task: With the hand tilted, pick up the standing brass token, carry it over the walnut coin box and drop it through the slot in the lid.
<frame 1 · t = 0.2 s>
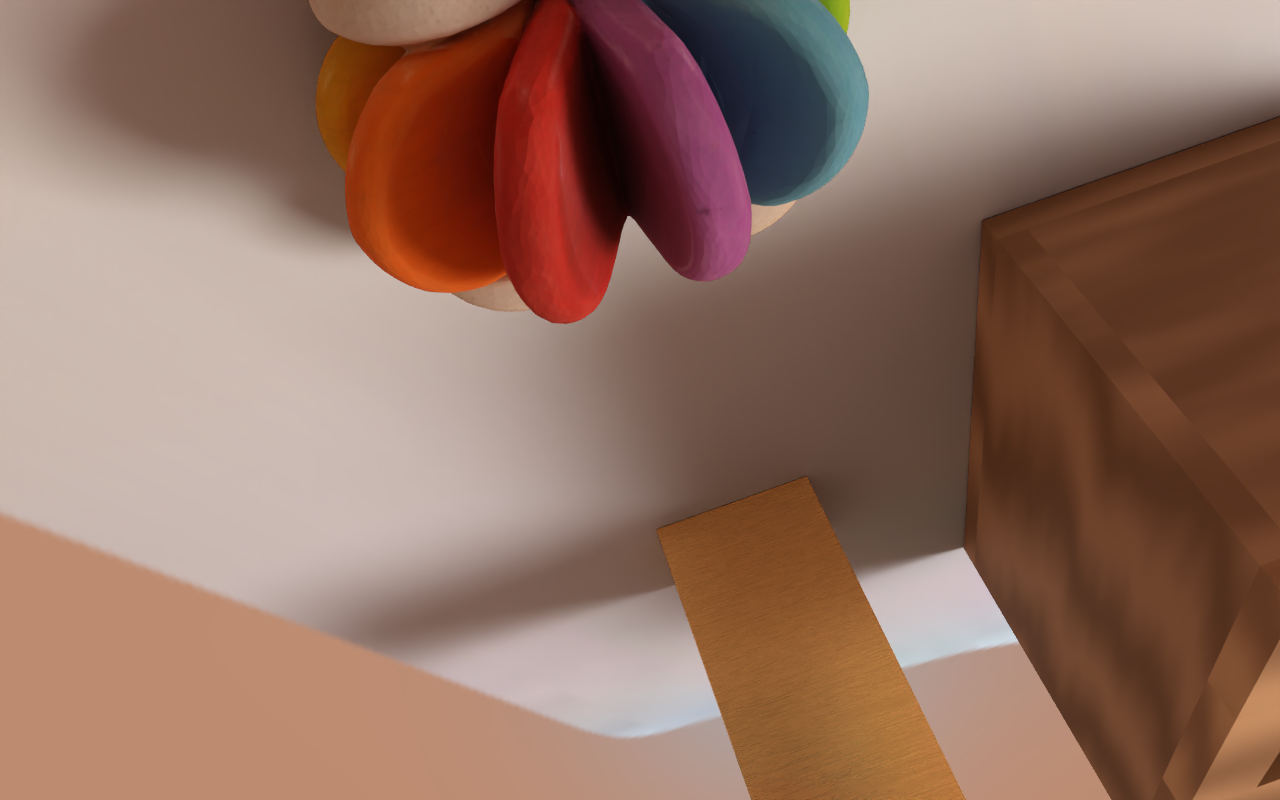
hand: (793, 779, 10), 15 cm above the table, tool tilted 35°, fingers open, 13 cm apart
coin box: (1149, 350, 34), on the table
token: (738, 532, 35), on the table
multicolored rounded segment toy: (559, 10, 21), on the table
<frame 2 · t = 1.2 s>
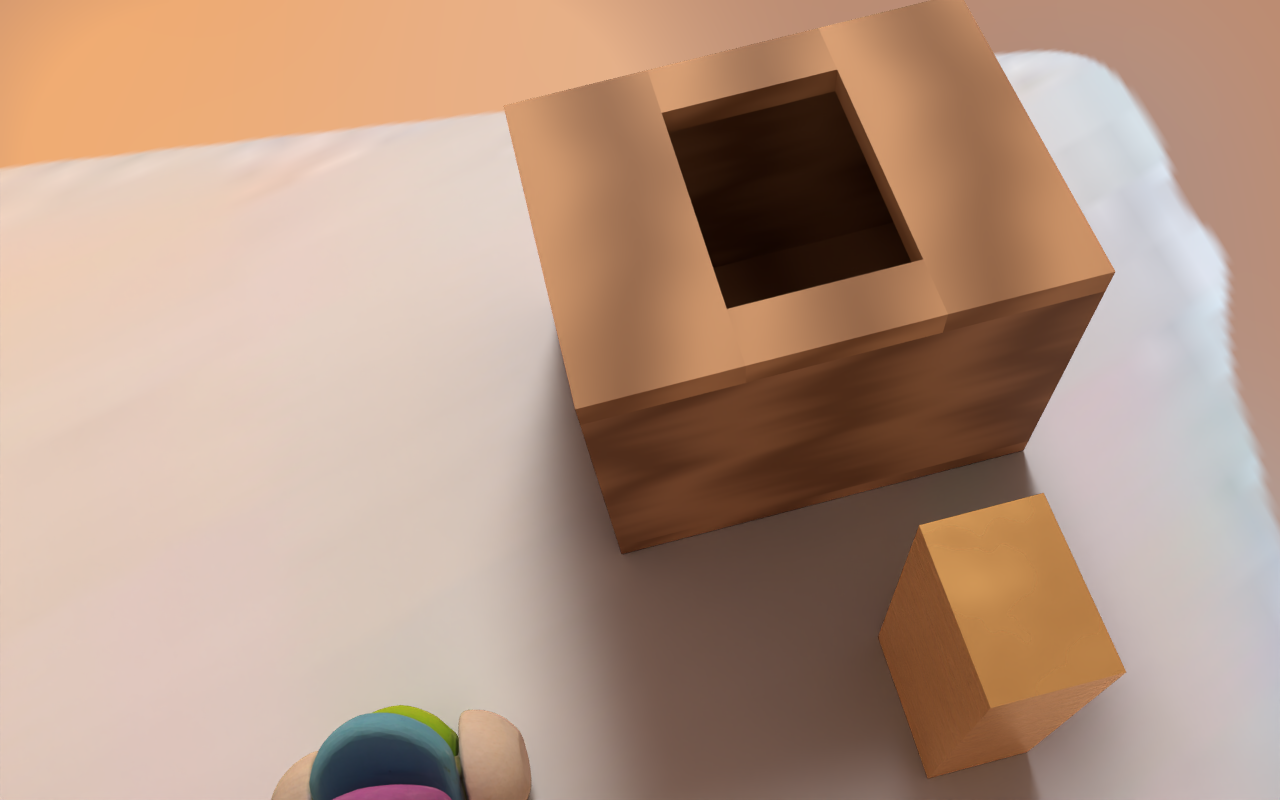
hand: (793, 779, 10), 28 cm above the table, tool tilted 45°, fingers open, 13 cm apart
coin box: (778, 371, 44), on the table
token: (950, 692, 37), on the table
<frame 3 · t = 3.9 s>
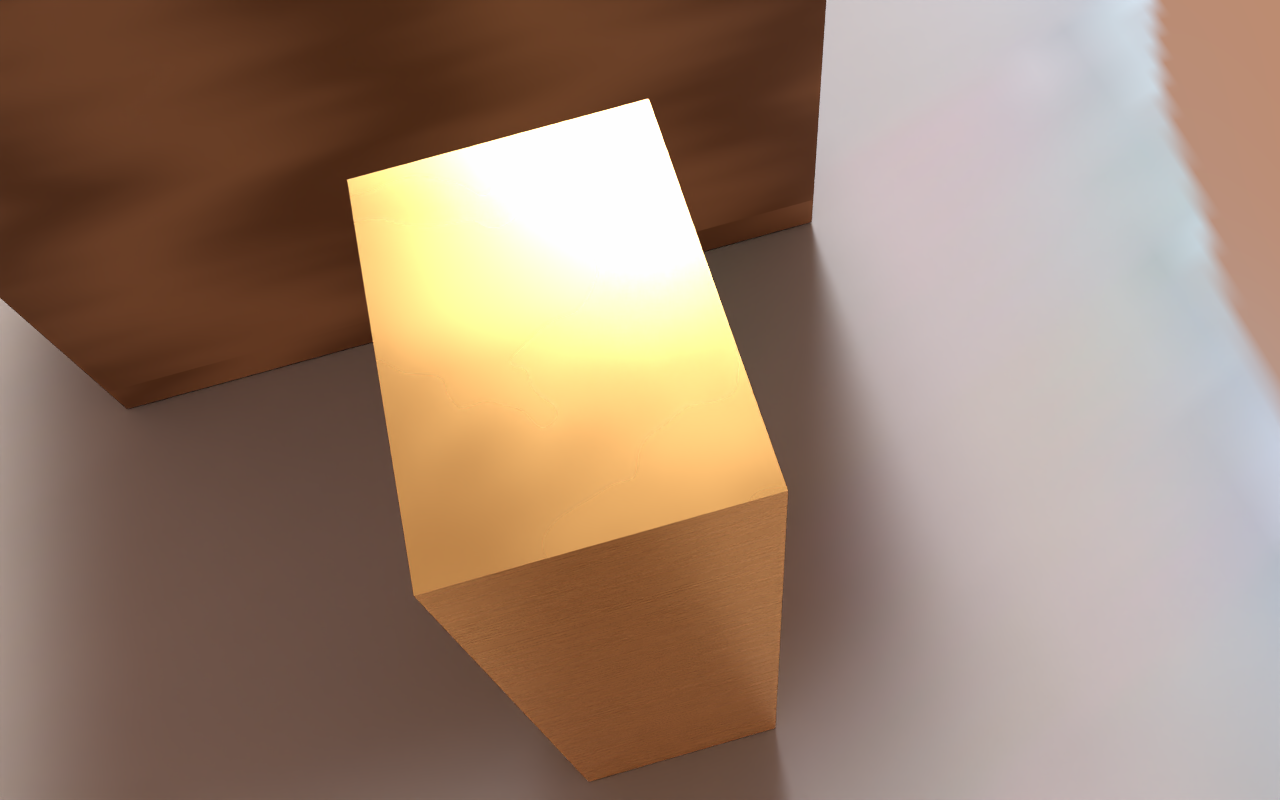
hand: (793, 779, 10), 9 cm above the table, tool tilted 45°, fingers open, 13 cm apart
coin box: (431, 123, 27), on the table
token: (647, 624, 21), on the table
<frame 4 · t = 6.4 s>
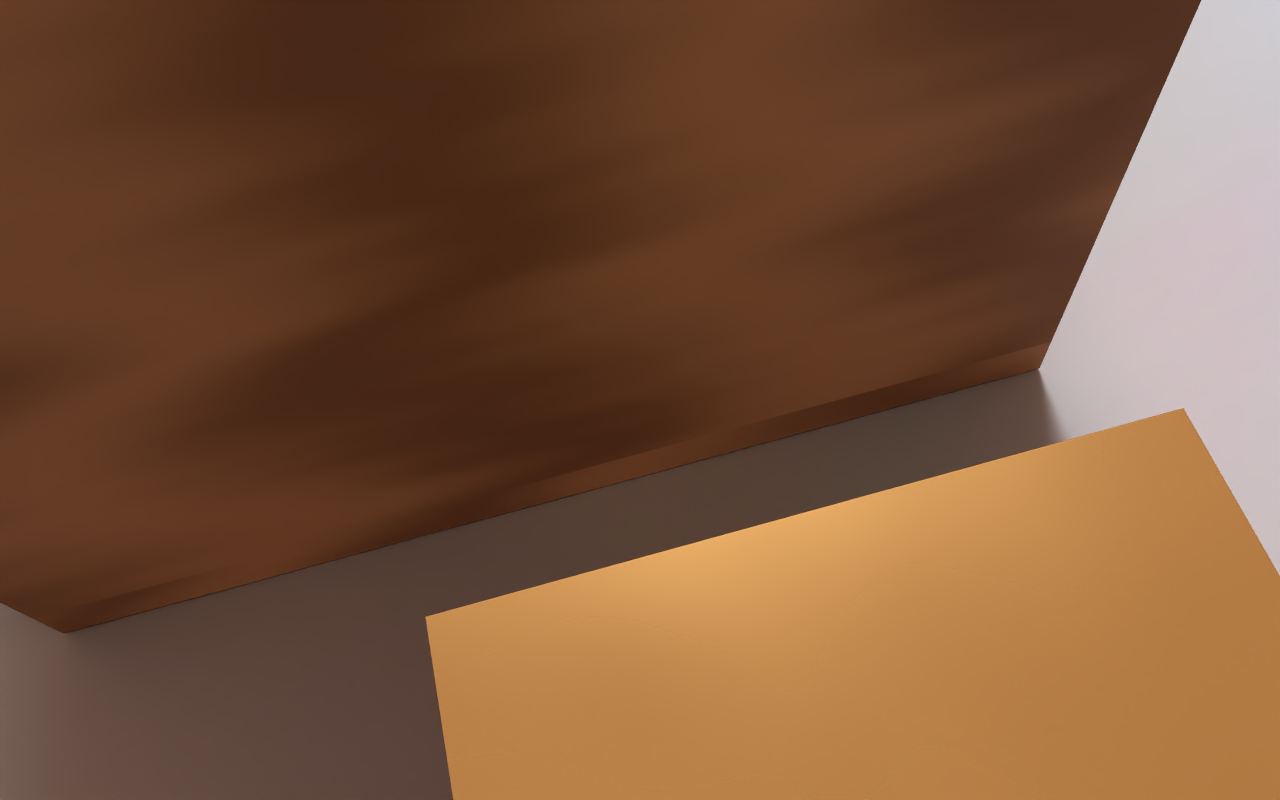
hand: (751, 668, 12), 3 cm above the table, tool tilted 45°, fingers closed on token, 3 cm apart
coin box: (491, 212, 20), on the table
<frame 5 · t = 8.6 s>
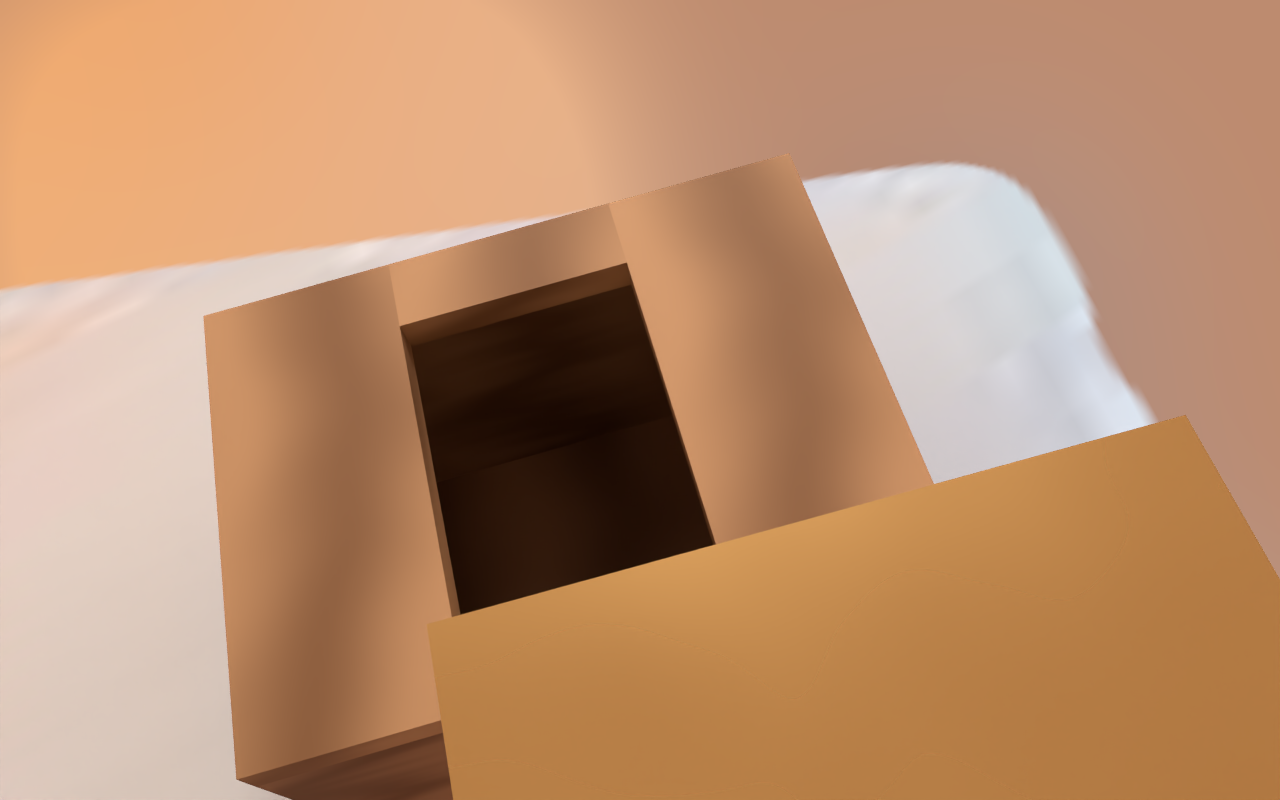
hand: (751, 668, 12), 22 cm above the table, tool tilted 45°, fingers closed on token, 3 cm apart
coin box: (612, 587, 36), on the table
when the fingers open (16 cm above the table, at t = 11.1 s): token drops 12 cm, resting on coin box.
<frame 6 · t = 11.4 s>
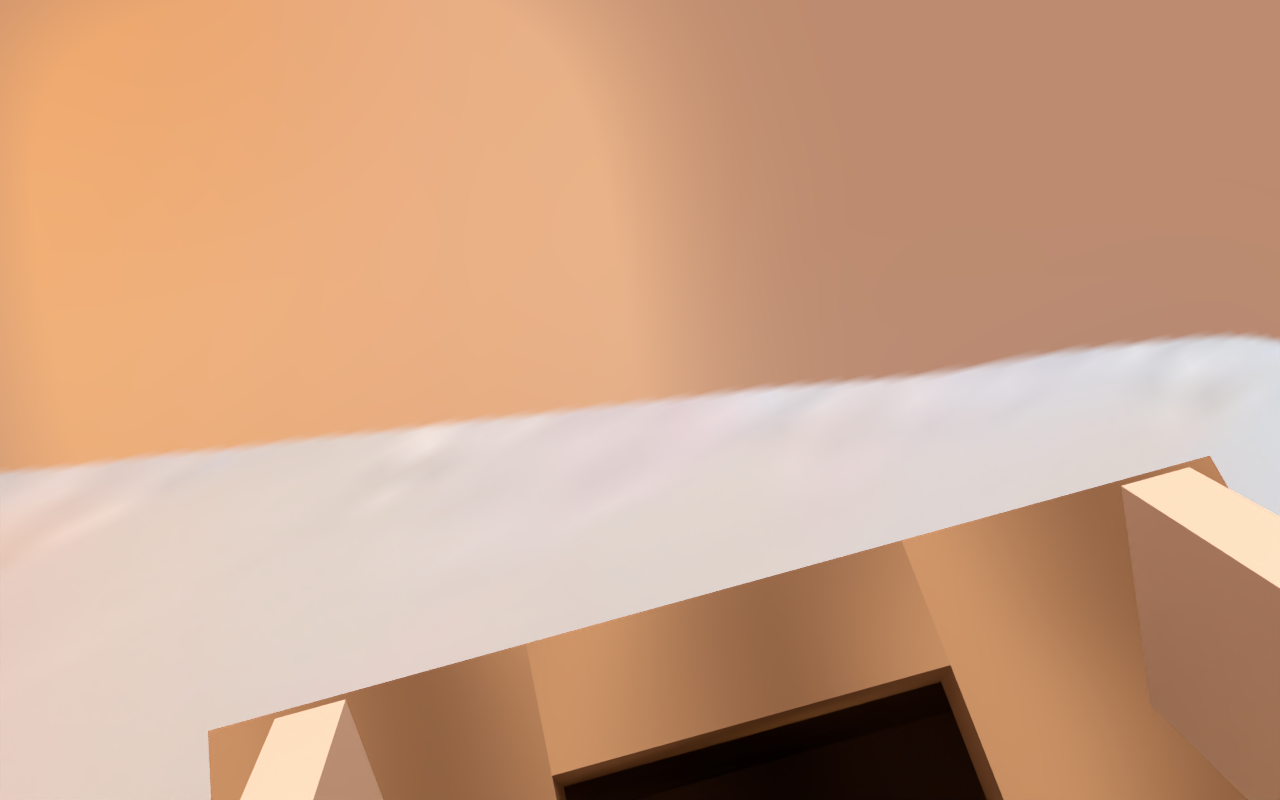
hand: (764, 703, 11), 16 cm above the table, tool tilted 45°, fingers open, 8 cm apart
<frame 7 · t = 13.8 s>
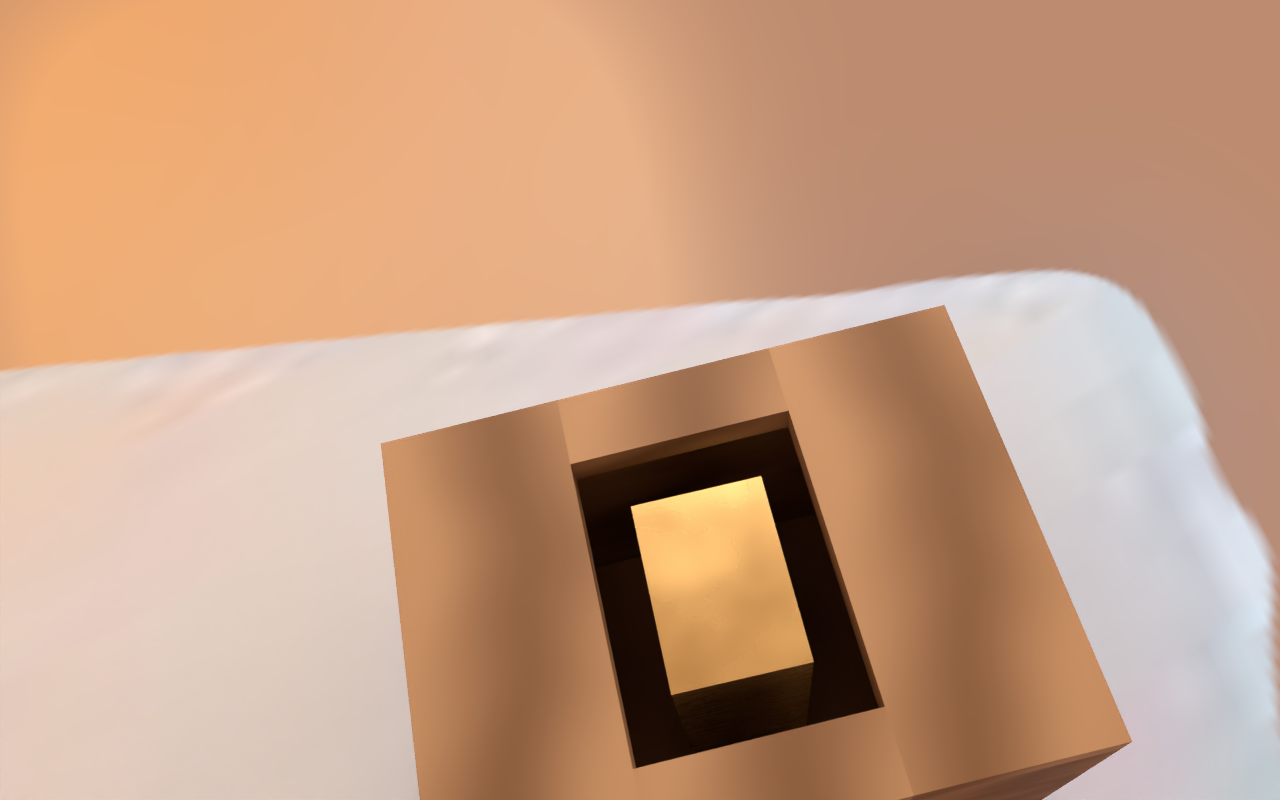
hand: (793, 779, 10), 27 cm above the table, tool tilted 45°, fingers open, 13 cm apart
coin box: (733, 688, 37), on the table
token: (733, 683, 36), point 1 cm above the table, touching coin box
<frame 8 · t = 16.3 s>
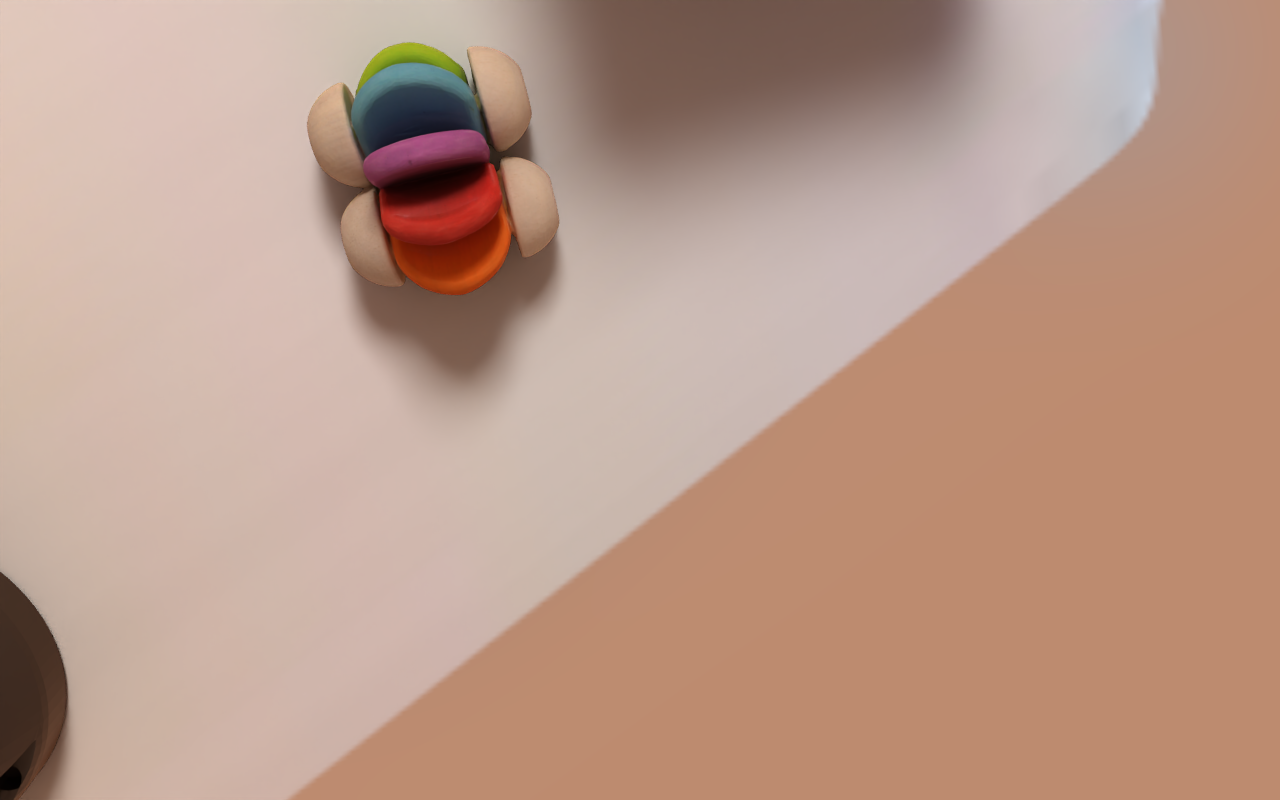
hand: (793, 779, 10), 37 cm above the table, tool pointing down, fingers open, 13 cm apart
multicolored rounded segment toy: (441, 167, 44), on the table
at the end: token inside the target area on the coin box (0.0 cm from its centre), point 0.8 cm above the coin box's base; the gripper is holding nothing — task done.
